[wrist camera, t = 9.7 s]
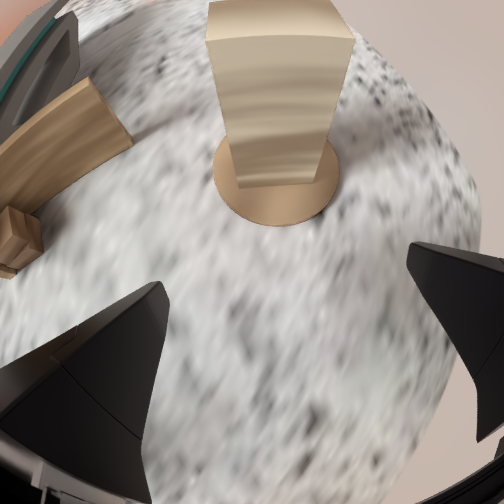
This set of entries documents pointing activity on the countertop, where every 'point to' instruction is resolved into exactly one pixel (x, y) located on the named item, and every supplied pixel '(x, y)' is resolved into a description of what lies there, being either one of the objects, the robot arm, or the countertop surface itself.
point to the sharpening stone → (36, 65)
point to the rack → (58, 149)
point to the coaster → (276, 191)
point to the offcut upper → (12, 234)
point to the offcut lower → (29, 244)
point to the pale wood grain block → (277, 83)
